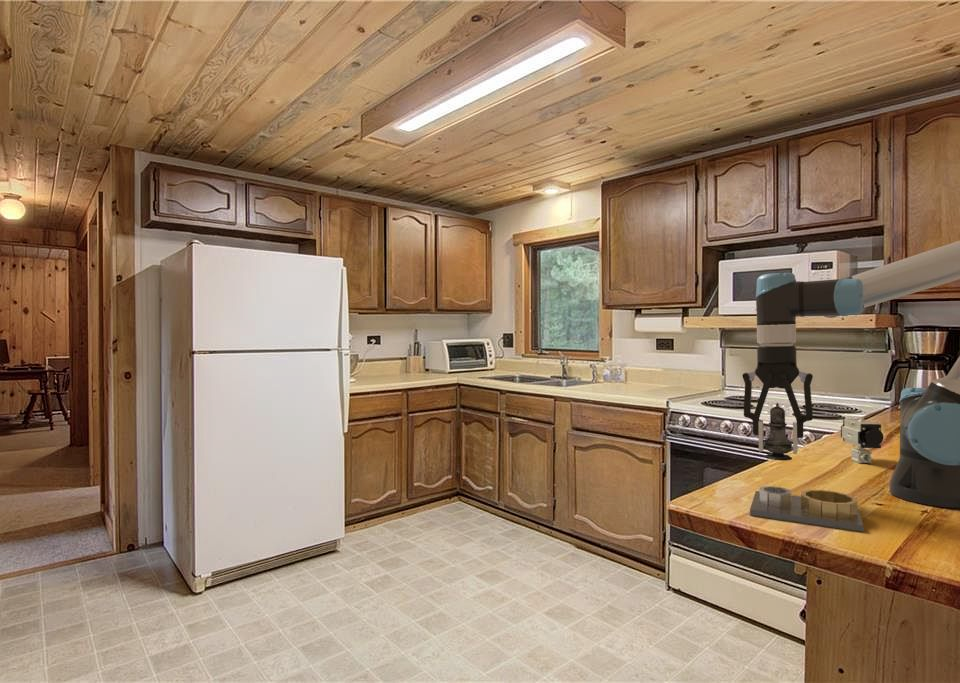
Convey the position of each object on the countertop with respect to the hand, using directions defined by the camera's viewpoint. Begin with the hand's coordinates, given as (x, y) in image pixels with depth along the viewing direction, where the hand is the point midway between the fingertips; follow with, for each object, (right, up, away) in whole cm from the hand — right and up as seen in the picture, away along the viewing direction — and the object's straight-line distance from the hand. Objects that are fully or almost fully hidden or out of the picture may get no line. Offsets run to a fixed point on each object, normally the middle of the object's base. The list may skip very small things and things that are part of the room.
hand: (778, 451), depth 122 cm
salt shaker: (0, -2, 0) cm, 2 cm away
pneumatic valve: (+36, -8, +28) cm, 46 cm away
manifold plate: (-2, -9, -13) cm, 16 cm away
